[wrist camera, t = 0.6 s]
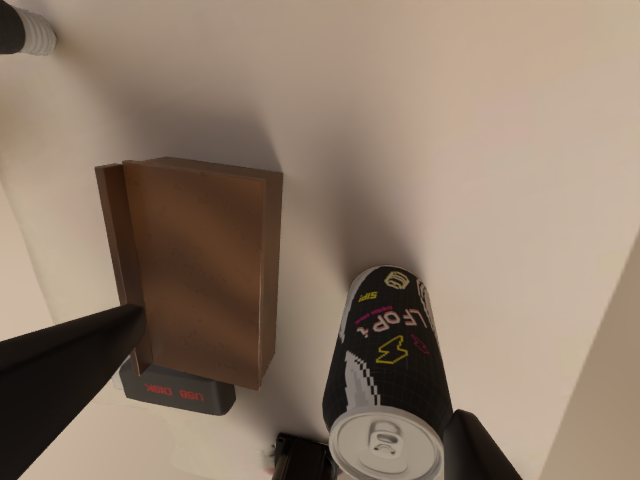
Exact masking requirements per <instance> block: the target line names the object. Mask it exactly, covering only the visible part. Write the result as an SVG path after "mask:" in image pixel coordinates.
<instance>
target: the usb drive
mask: <svg viewBox="0 0 640 480" xmlns="http://www.w3.org/2000/svg"><path fill="white" fill-rule="evenodd" d="M111 379H112V382H113V385H114V388H116V389H121V390H124V392H125V395H126V397H127V398H130V399H134V400H138V401H142V402H147V403H152V404H158V405H163V406H168V407H173V408H178V409H184V410H189V411H194V412H199V413H204V414H209V415H217V416H222V415H225V414H226V413H227V412H228V411H229V410H230V409H231V407H232V406H233V404H234V402H235V400H236V397H235V390H234V385H233V384H229V383H225V382H221V381H217V380H214V379H210V378H206V377H202V376H198V375H194V374H190V373H186V372H182V371H178V370H174V369H170V368H167V367H163V366H159V365H155V364H153V363H152V364H151V365H150V366H149V367H148V368H147V369H146V370H145V372H144V373H143V374H142V375H141V376H137V375H134V374H133V369H132V364H131V359H130V354H129V356H128V357H127V358H126V360H125V361H124V362H123V363H122V365H121V366H120V367H119V369H118V370H117V371H116V372H115V374H114V375H113V376H112V377H111Z"/></svg>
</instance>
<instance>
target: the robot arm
mask: <svg viewBox="0 0 640 480" xmlns="http://www.w3.org/2000/svg"><path fill="white" fill-rule="evenodd" d="M145 331H146V312H145V309H144V307H142V306H139V305H136V304H132V303H130V304H126V305H122V306H119V307H115V308H112V309H109V310H105V311H102V312H99V313H95V314H92V315H89V316H85V317H82V318H78V319H75V320H72V321H68V322H65V323H62V324H58V325H55V326H52V327H48V328H45V329H41V330H38V331H35V332H31V333H28V334H24V335H21V336H18V337H14V338H11V339H8V340H4V341H1V342H0V480H17V479H18V478H19V477H20V476H21V475H22V474H23V473H24V472H25V471H26V470H27V469H28V468H29V466H30V465H31V464H32V463H33V462H34V461H35V460H36V459H37V458H38V457H39V456H40V455H41V454H42V453H43V451H44V450H45V449H46V448H47V447H48V446H49V445H50V444H51V443H52V442H53V441H54V440H55V439H56V438H57V436H58V435H59V434H60V433H61V432H62V431H63V430H64V429H65V428H66V427H67V426H68V425H69V423H70V422H71V421H72V420H73V419H74V418H75V417H76V416H77V415H78V414H79V413H80V412H81V411H82V409H83V408H84V407H85V406H86V405H87V404H88V403H89V402H90V401H91V400H92V399H93V398H94V397H95V396H96V395H97V393H98V392H99V391H100V390H101V389H102V388H103V387H104V386H105V385H106V384H107V382H108V381H109V380H110V379H111V377H112V376H113V375H114V374H115V372H116V371H117V370H118V369H119V367H120V366H121V365H122V363H123V362H124V361H125V360H126V358H127V357H128V356H129V354H130V353H131V352H132V351H133V349H134V348H135V347H136V345H137V344H138V343H139V342H140V340H141V339H142V338H143V336H144V334H145ZM338 470H339V466H338V464H337V463H336V462H335V460H334V459H333V457H332V455H331V452H330V449H329V446H327V445H324V444H320V443H317V442H313V441H309V440H306V439H302V438H298V437H295V436H291V435H287V434H284V433H279V434H278V436H277V439H276V456H275V471H274V474H273V477H272V480H337V475H338ZM444 480H523V479H522V478H521V477H520V475H519V474H518V473H517V471H516V470H515V468H514V467H513V466H512V464H511V463H510V462H509V460H508V459H507V458H506V456H505V455H504V454H503V452H502V451H501V449H500V448H499V447H498V445H497V444H496V443H495V441H494V440H493V439H492V437H491V436H490V435H489V433H488V432H487V430H486V429H485V428H484V426H483V425H482V424H481V422H480V421H479V420H478V418H477V417H476V416H475V415H474V414H473V413H470V412H467V411H464V410H461V409H457V410H456V411H455V412H454V414H453V416H452V417H451V419H450V421H449V423H448V425H447V426H446V428H445V431H444Z"/></svg>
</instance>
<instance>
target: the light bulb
mask: <svg viewBox="0 0 640 480" xmlns="http://www.w3.org/2000/svg"><path fill="white" fill-rule="evenodd" d="M56 42H57V39H56V35H55V34H54V32H53V30H52V28H51V26H50V24H49V23H48V22H47V20H46V19H44V18H43V17H42V16H40V15H38V14H36V13H33V12H30V11H29V10H24V9H21V8H18V7H15V6H12V5H9V4H7V3H6V2H5V1H3V0H0V54H14V53H24V54H30V55H36V56H41V55H43V56H47V55H50V54H51V53H52V52H53V50H54V48H55V44H56Z"/></svg>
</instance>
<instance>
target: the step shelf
mask: <svg viewBox="0 0 640 480" xmlns="http://www.w3.org/2000/svg"><path fill="white" fill-rule="evenodd" d="M95 173H96V178H97V184H98V189H99V194H100V200H101V205H102V210H103V215H104V221H105V226H106V231H107V237H108V242H109V247H110V253H111V258H112V263H113V269H114V274H115V279H116V284H117V290H118V295H119V300H120V306H122V305H126V304H130V303H132V304H136V305H139V306H142V307H144V309H145V312H146V331H145V334H144V336H143V338H142V339H141V340H140V342H139V343H138V344H137V345H136V347H135V348H134V349H133V351H132V352H131V353H130V359H131V364H132V369H133V374H134V375H137V376H141V375H142V374H143V373H144V372H145V370H146V369H147V368H148V367H149V366H150V365H151V364H152V363H153V364H155V365H159V366H163V367H167V368H170V369H174V370H178V371H182V372H186V373H190V374H194V375H198V376H202V377H206V378H210V379H214V380H217V381H221V382H225V383H229V384H233V385H237V386H241V387H245V388H249V389H253V390H257V391H259V389H260V387H261V380H262V378H263V376H264V374H265V372H266V370H267V368H268V366H269V364H270V362H271V360H272V358H273V356H274V354H275V338H276V317H277V295H278V273H279V251H280V230H281V208H282V186H283V173H282V172H274V171H267V170H260V169H252V168H245V167H238V166H230V165H223V164H216V163H208V162H201V161H194V160H186V159H179V158H172V157H162V158H157V159H151V160H146V161H134V160H125V161H122V164H116V163H114V164H108V165H103V166H97V167H95Z"/></svg>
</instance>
